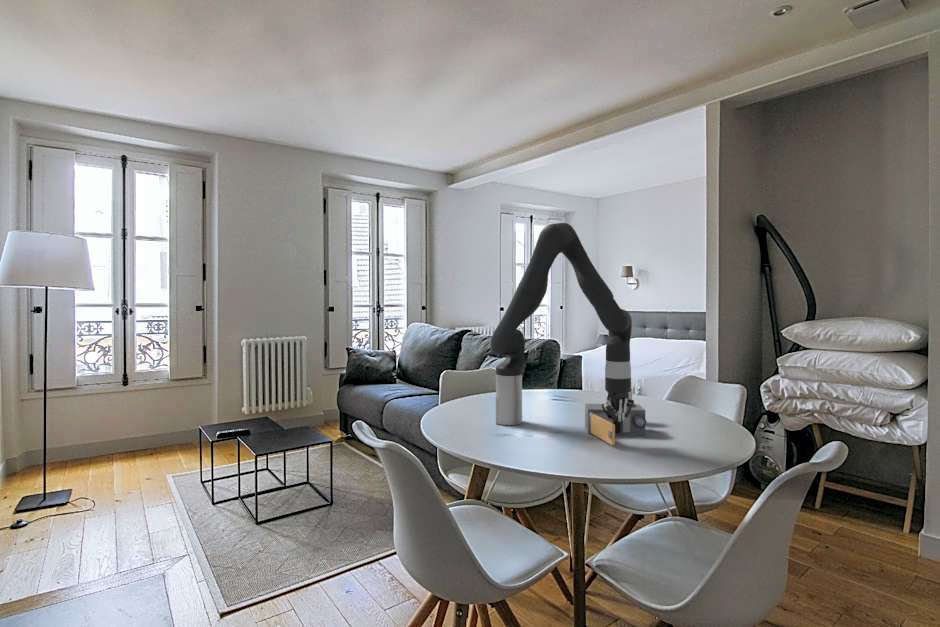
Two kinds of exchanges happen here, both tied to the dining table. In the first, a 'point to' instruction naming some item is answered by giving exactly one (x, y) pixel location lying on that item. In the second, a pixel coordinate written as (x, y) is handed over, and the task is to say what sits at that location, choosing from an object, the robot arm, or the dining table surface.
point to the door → (602, 428)
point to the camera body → (630, 424)
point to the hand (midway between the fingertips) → (618, 432)
